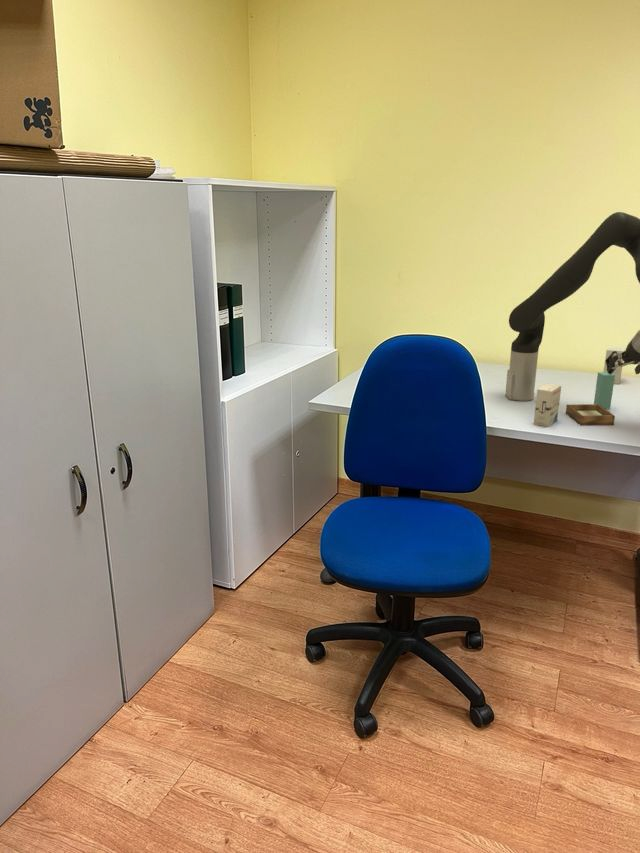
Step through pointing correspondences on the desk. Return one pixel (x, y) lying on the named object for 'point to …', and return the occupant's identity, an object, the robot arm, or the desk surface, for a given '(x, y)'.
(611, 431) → the desk surface
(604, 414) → the tray
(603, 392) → the teal block
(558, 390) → the ink box
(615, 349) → the small box
